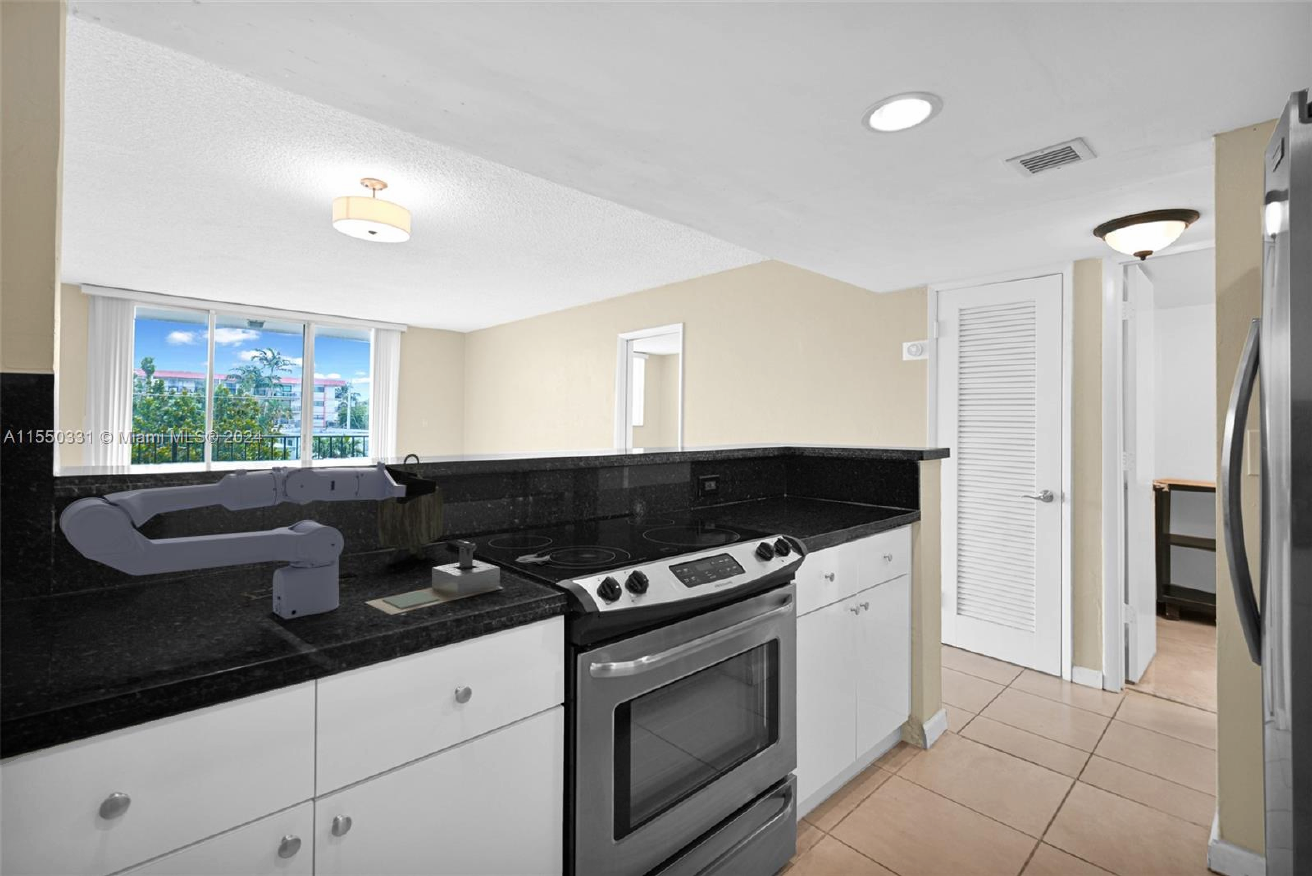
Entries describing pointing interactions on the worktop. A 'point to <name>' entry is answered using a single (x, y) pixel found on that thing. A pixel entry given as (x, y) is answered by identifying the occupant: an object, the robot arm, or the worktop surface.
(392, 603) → the mat
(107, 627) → the worktop surface
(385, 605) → the board
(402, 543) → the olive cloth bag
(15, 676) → the worktop surface
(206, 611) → the worktop surface
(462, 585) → the block
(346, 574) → the hacksaw
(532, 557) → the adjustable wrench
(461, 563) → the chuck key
